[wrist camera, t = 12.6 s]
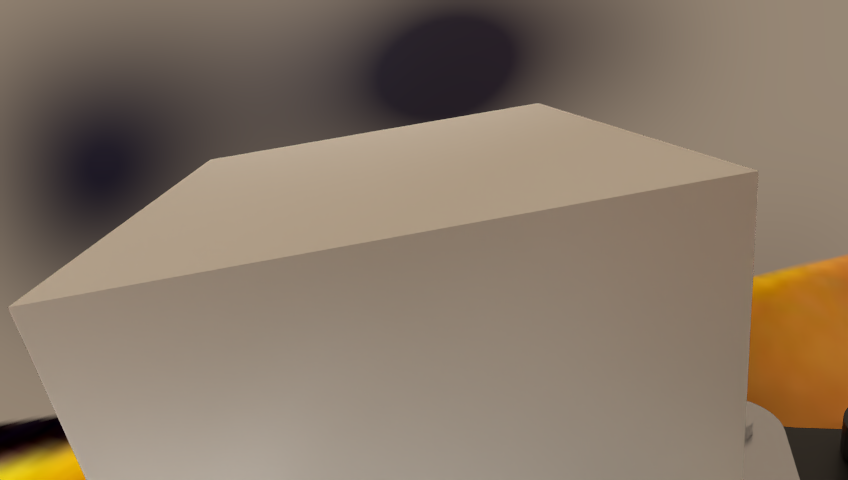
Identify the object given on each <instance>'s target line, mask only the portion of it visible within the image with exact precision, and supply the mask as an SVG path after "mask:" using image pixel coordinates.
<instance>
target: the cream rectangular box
mask: <svg viewBox="0 0 848 480" xmlns="http://www.w3.org/2000/svg"><path fill="white" fill-rule="evenodd" d="M757 188H758V171H757V170H754V169H751V168H747V167H744V166H741V165H738V164H734V163H731V162H728V161H724V160H722V159H718V158H715V157H712V156H708V155H705V154H702V153H699V152H695V151H692V150H688V149H686V148H682V147H679V146H676V145H673V144H669V143H666V142H663V141H660V140H657V139H653V138H650V137H647V136H644V135H640V134H637V133H634V132H631V131H627V130H624V129H621V128H617V127H614V126H611V125H608V124H605V123H601V122H598V121H595V120H591V119H588V118H585V117H582V116H578V115H575V114H572V113H568V112H565V111H562V110H559V109H556V108H552V107H549V106H546V105H543V104H540V103H537V104H531V105H525V106H519V107H513V108H508V109H502V110H496V111H490V112H484V113H478V114H473V115H467V116H461V117H455V118H449V119H444V120H438V121H432V122H426V123H421V124H415V125H409V126H404V127H397V128H391V129H386V130H380V131H374V132H368V133H362V134H357V135H351V136H345V137H339V138H333V139H328V140H322V141H316V142H310V143H305V144H299V145H293V146H287V147H281V148H275V149H270V150H264V151H258V152H253V153H247V154H241V155H235V156H229V157H223V158H217V159H212V160H209V161H208V162H207V163H205V164H204V165H202V166H201V167H200V168H198V169H197V170H196V171H195V172H193V173H191V174H190V175H189V176H187V177H186V178H185V179H183V180H182V181H180V182H179V183H178V184H176V185H175V186H174V187H172V188H171V189H169V190H168V191H167V192H166V193H164V194H163V195H161V196H160V197H158V198H157V199H156V200H154V201H153V202H152V203H150V204H149V205H147V206H146V207H145V208H143V209H142V210H141V211H139V212H138V213H137V214H135V215H134V216H132V217H131V218H130V219H128V220H127V221H126V222H124V223H123V224H121V225H120V226H119V227H117V228H116V229H115V230H113V231H112V232H110V233H109V234H108V235H106V236H105V237H104V238H102V239H101V240H99V241H98V242H97V243H95V244H94V245H93V246H91V247H90V248H89V249H87V250H86V251H84V252H83V253H82V254H80V255H79V256H77V257H76V258H75V259H73V260H72V261H71V262H69V263H68V264H66V265H65V266H64V267H62V268H61V269H60V270H58V271H57V272H55V273H54V274H53V275H51V276H50V277H49V278H47V279H46V280H44V281H43V282H42V283H41V284H39V285H38V286H36V287H35V288H34V289H32V290H31V291H29V292H28V293H27V294H26V295H24V296H22V297H21V298H20V299H18V300H17V301H16V302H14V303H13V304H12V305H10V306H9V307H8V310H9V312H10V314H11V316H12V318H13V320H14V323H15V325H16V327H17V329H18V331H19V334H20V336H21V338H22V340H23V342H24V344H25V347H26V348H27V351H28V353H29V355H30V357H31V360H32V362H33V364H34V366H35V369H36V371H37V373H38V375H39V377H40V380H41V382H42V384H43V386H44V388H45V390H46V393H47V395H48V397H49V399H50V401H51V404H52V406H53V408H54V410H55V412H56V414H57V417H58V419H59V421H60V423H61V425H62V428H63V430H64V432H65V434H66V436H67V439H68V441H69V443H70V445H71V447H72V449H73V452H74V454H75V456H76V458H77V460H78V463H79V465H80V467H81V469H82V471H83V474H84V476H85V478H86V480H743V463H744V443H745V424H746V404H747V385H748V365H749V345H750V326H751V306H752V286H753V267H754V245H755V227H756V208H757Z"/></svg>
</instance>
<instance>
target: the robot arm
mask: <svg viewBox="0 0 848 480" xmlns="http://www.w3.org/2000/svg"><path fill="white" fill-rule="evenodd" d="M743 480H848V408H847V409H846V411H845V413H844V418H843V426H842V429H819V428H793V427H783V425H782V424H781V422H780V421H779V420H778V419H777V418H776V417H775V416H774V415H773V414H772V413H770V412H769V411H768V410H766V409H764V408H763V407H761V406H759V405H756V404H754V403H752V402H749V401H747V404H746V424H745V443H744V463H743Z"/></svg>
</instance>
